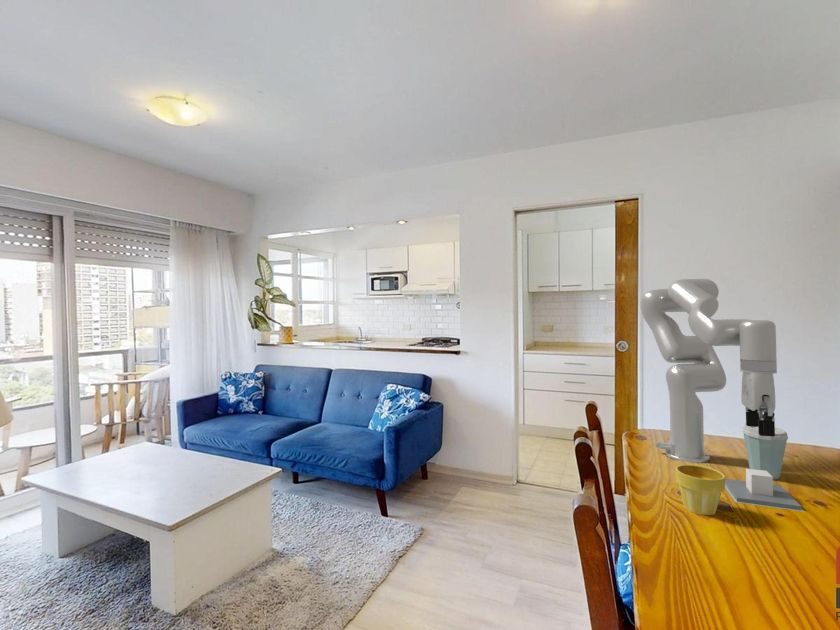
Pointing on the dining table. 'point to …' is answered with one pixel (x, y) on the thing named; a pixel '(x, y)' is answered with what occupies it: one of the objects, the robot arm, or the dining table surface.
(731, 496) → the mat
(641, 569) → the dining table surface
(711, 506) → the plant pot
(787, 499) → the lid
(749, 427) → the disposable coffee cup
